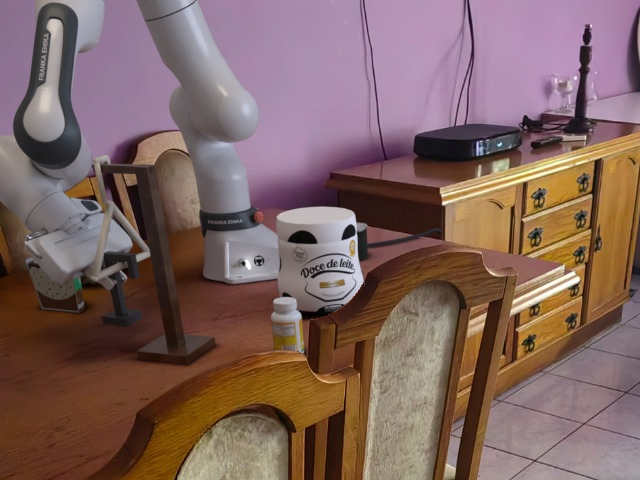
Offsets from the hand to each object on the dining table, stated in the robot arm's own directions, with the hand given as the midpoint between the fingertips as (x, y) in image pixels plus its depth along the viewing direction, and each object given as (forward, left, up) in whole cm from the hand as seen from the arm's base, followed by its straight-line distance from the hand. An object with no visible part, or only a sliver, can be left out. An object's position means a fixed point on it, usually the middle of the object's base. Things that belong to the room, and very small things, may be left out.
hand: (118, 284), depth 148 cm
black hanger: (0, 0, -7) cm, 7 cm away
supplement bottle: (-29, +10, -12) cm, 32 cm away
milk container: (-36, -15, -12) cm, 41 cm away
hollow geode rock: (+13, -52, -12) cm, 55 cm away
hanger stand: (-7, +4, -11) cm, 14 cm away
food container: (+15, -28, -12) cm, 34 cm away
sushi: (-47, -52, -12) cm, 71 cm away
